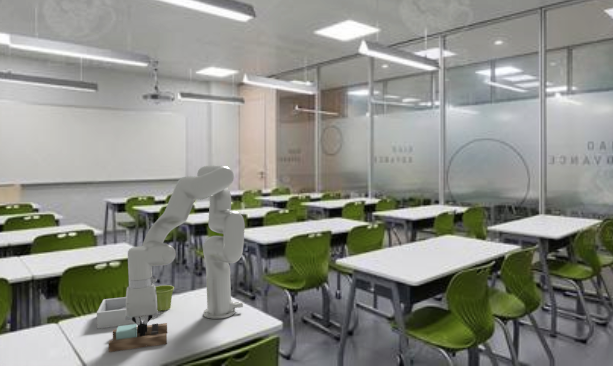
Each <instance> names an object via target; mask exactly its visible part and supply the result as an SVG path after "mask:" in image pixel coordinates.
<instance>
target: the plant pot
mask: <svg viewBox="0 0 613 366" xmlns="http://www.w3.org/2000/svg"><path fill="white" fill-rule="evenodd" d="M155 288H156V293H157V306H158V307H157V310H158V312H161V311H164V312H165V311H167V310H170V309H171V306H172V296H173V293H174V289H175V286H173V285H168V284H167V285H166V284H165V285H164V284H163V285H158V286H155Z"/></svg>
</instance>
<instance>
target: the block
mask: <svg viewBox="0 0 613 366" xmlns="http://www.w3.org/2000/svg"><path fill="white" fill-rule="evenodd" d="M137 327H138V325H137V324H131V325H123V326H117V328H116V329H117V331H116V340H118V339H126V338H133V337H137Z"/></svg>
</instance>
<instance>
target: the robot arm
mask: <svg viewBox="0 0 613 366" xmlns="http://www.w3.org/2000/svg"><path fill="white" fill-rule="evenodd" d="M234 179H235V176H234V172H233V170H232V169H231V168H230V167H228V166H226V165H204V166H201V167H200V168H198V170H197V176H191V175H190V176H188V175H187V176H183V177H180V179H178V180H177V183H176V184H175V186H174V189H173V191H172V194H171V195H170V198H169V200H168V203H167V204H166V207H165V210H164V212H163V213H162V214H161V215H160V216H159V217H158V219H156V221H155V222H154V223H152V226H150V228H149V230H147V233H146V235H145V237H144V240H143V243H142V245H138V246H134V247H131V248H129V249H128V250H127V269H128V286H127V287H126V290H125V291H126V294H125V297H126V318H125V320H130V321H131V320H132V321H133V322H135V323H136V324H137V327H138V333H140V336H142V335H143V336H145V333H146V332H147V325H148V324H149V321H151V320H152V319H153V318H156V317H158V316H159V311H158V310H157V307H158V306H157V293H156V288H155V287H156V284H155V283H156V282H157V279H158V278H157V277H154V276H153V267H157V266H159V267H160V266H167V265H169V264H171V263H173V262H174V260H175V259H176V255H177V252H176V249H175V248H174V247H173V246H172V245H170V244H167V243H164V241H165V240H166V238H167V236H168V235H169V233H170V232H171V231H173V230H174V229H175V228H177V227H178V226H181V225H183V224H184V223H186V222H187V220H188V218H189V215H190V213H191V210H193V209H192V208H193V206H194V203H195V201H196V200H197V201H198V200H200V201H201V200H206V199H207V198H209V209H208V210H209V211H208V220H207V221H208V228H209V229H210V231H212V232H215V233H217V234H223V236H221V235H212V236H209V237H208V238H207V239H206V240H205V241H204V243H203V245H202V251H203V256H204V263H205V275H206V276H205V277H206V304H207V305H206V308H205V310H203V316H204V318H208V319H210V320H211V319H212V320H216V319H217V320H219V319H226V318H229V317H231V316H234V314H235V313H236V309H237V308H243V307H244V304H243V302H239V301H235V302H234V301H233V300H232V290H231V288H232V287H231V266H230V264H235V263H237V262H238V261H240V259H241V257H242V255H243V252H244V244H245V243H244V242H245V228H246V227H245V226H246V225H245V219H244V216H243V215H242V214H241V212H238V211H236V210H232V194H231V190H230V189H229V187H230V186H231V185H232V184H233V182H234ZM141 317H144V318H143V319H144V320H143V321H142V320H141Z"/></svg>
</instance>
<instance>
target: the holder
mask: <svg viewBox="0 0 613 366" xmlns="http://www.w3.org/2000/svg"><path fill="white" fill-rule="evenodd" d="M124 307H126V296H124V297H114V298H106V299H105V298H104V299H103V300H102V302H101V303H100V305H99V308H98V310H97V311H96V325H97V326H96V327H97V329H104V328H105V329H106V328H114V327H118V326H124V325H132V324H136V323H135V322H133V321H132V320H131V321H130V320H125V318H126V309H121V308H124ZM118 309H119V310H118Z"/></svg>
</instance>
